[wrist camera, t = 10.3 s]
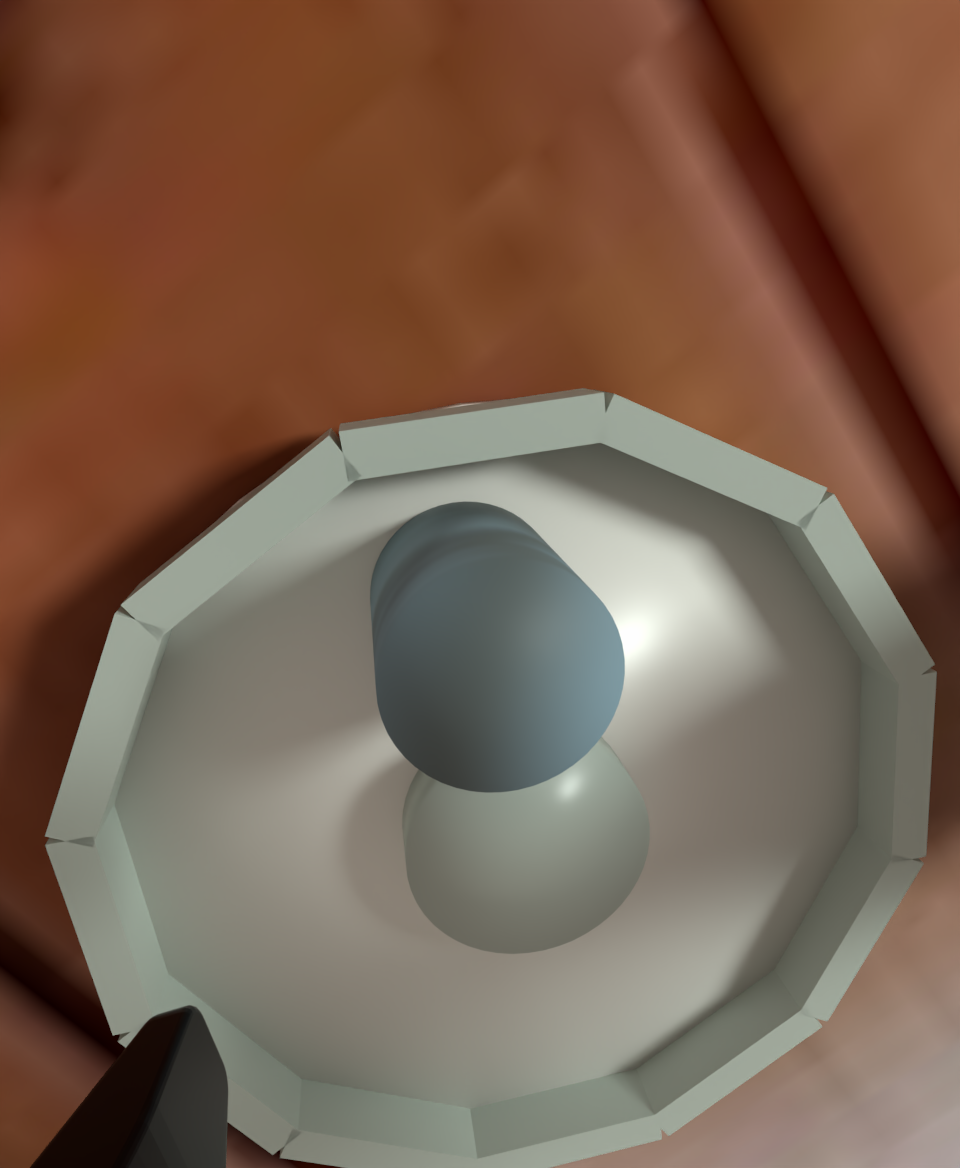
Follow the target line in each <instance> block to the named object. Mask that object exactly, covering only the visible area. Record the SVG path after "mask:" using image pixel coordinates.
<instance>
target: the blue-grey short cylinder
mask: <svg viewBox="0 0 960 1168" xmlns="http://www.w3.org/2000/svg"><path fill="white" fill-rule="evenodd" d="M370 605H371V621H372V637H373V653H374V669H375V685H376V695H377V704H378V708H379V712H380V716H381V719H382V722H383V724H384V726H385V729H386V731H387V733H388V735H389V737H390V738H391V740H392V741H393V743H394V745H395V746H396V747H397V749H398V750H399V751H400V752H401V753H402V755H403V756H404V757H405V758H406V759H407V760H408V761H409V762H410V763H411V764H413V765H414V766H415V767H416V768H417V769H419V770H420V771H422V772H423V773H425V774H426V775H427V776H429V777H431V778H433V779H435V780H437V781H439V782H441V783H444V784H446V785H449V786H452V787H455V788H459V789H463V790H468V791H474V792H485V793H493V792H508V791H515V790H520V789H524V788H527V787H531V786H534V785H537V784H540V783H542V782H545V781H547V780H549V779H551V778H553V777H555V776H557V775H559V774H561V773H562V772H564V771H565V770H567V769H568V768H570V767H571V766H573V765H574V764H575V763H577V762H578V761H579V760H580V759H581V758H582V757H584V756H585V755H586V754H587V753H588V752H589V751H590V750H591V749H592V748H593V746H594V745H595V744H596V743H597V742H598V741H599V739H600V738H601V736H602V735H603V734H604V732H605V731H606V729H607V728H608V726H609V724H610V722H611V720H612V719H613V717H614V714H615V712H616V709H617V707H618V704H619V701H620V698H621V694H622V690H623V684H624V676H625V658H624V651H623V644H622V641H621V637H620V634H619V631H618V628H617V626H616V624H615V622H614V620H613V617H612V616H611V614H610V612H609V611H608V609H607V608H606V606H605V605H604V603H603V602H602V601H601V600H600V599H599V598H598V597H597V595H596V594H595V593H594V592H593V591H592V590H591V589H590V588H589V587H588V586H587V585H586V584H585V583H584V582H583V580H582V579H581V578H580V577H579V576H578V575H577V574H576V573H575V572H574V571H573V570H572V569H571V568H570V567H569V566H568V565H567V564H566V563H565V562H564V561H563V560H562V559H561V557H560V556H559V555H558V554H557V553H556V552H555V551H554V550H553V549H552V548H551V547H550V546H549V545H548V544H547V543H546V542H545V541H544V540H543V539H542V538H541V537H540V535H539V534H538V533H537V532H536V531H535V530H534V529H533V528H532V527H531V526H530V525H528V524H527V523H526V522H525V521H524V520H523V519H521V518H520V517H518V516H516V515H515V514H513V513H512V512H509V511H507V510H505V509H503V508H501V507H497V506H494V505H491V504H486V503H481V502H466V501H464V502H453V503H448V504H444V505H439V506H437V507H434V508H431V509H428V510H426V511H424V512H422V513H420V514H418V515H417V516H415V517H414V518H412V519H411V520H409V521H408V522H406V523H405V524H404V525H403V526H402V527H401V528H400V529H399V530H397V531H396V532H395V534H394V535H393V536H392V537H391V538H390V540H389V541H388V542H387V544H386V545H385V547H384V548H383V550H382V551H381V553H380V556H379V558H378V560H377V562H376V565H375V568H374V571H373V574H372V580H371V586H370Z"/></svg>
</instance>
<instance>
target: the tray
mask: <svg viewBox="0 0 960 1168" xmlns="http://www.w3.org/2000/svg"><path fill="white" fill-rule="evenodd" d="M339 435H340V438H339V437H338V436H337V435H336V434H335V432H334V431H333V430H332V429H331V428H330V429H329V430H328V431H326V432H325V433H324V434H323V435H321V436H320V437H319V438H318V439H317V440H315V441H314V442H313V443H312V444H310V445H309V446H308V447H307V448H305V449H304V450H303V451H302V452H301V453H299V454H298V455H297V456H296V457H294V458H293V459H292V460H291V461H289V462H288V463H287V464H286V465H285V466H283V467H282V468H281V469H280V470H278V471H277V472H276V473H275V474H274V475H272V476H271V477H270V478H269V479H267V480H266V481H265V482H263V483H262V484H260V485H259V486H258V487H256V488H255V489H253V490H252V491H251V492H249V493H248V494H246V495H245V496H243V497H242V498H241V499H239V500H238V501H237V502H236V503H235V504H234V505H233V506H232V507H231V508H230V509H229V510H227V511H226V512H225V513H224V514H223V515H222V516H221V517H220V518H219V519H218V520H217V521H216V522H214V523H213V524H212V525H211V526H210V527H208V528H207V529H206V530H205V531H203V532H202V533H201V534H200V535H198V536H197V537H196V538H195V539H194V540H192V541H191V542H190V543H189V544H187V545H186V546H185V547H184V548H183V549H181V550H180V551H179V552H178V553H176V554H175V555H174V556H173V557H171V558H170V559H169V560H168V561H167V562H165V563H164V564H163V565H162V566H160V567H159V568H158V569H157V570H155V571H154V572H153V573H152V574H151V575H149V576H148V577H147V578H146V579H144V580H143V581H142V582H141V583H140V584H139V585H138V586H137V587H136V588H135V589H134V590H133V591H132V593H131V594H130V595H129V596H128V597H127V598H126V599H125V600H124V602H123V603H122V604H121V607H120V608H119V609H118V610H117V611H116V613H115V614H114V617H113V620H112V624H111V627H110V630H109V633H108V636H107V640H106V643H105V646H104V649H103V652H102V656H101V659H100V662H99V665H98V668H97V671H96V675H95V678H94V681H93V684H92V687H91V691H90V694H89V697H88V700H87V703H86V707H85V710H84V713H83V716H82V719H81V723H80V726H79V729H78V732H77V735H76V738H75V742H74V745H73V748H72V751H71V754H70V758H69V761H68V764H67V767H66V770H65V774H64V777H63V780H62V783H61V786H60V790H59V793H58V796H57V799H56V802H55V805H54V809H53V812H52V815H51V818H50V821H49V825H48V828H47V831H46V834H45V837H50V838H49V839H48V841H47V843H46V844H45V846H46V849H47V852H48V855H49V858H50V861H51V863H52V866H53V869H54V872H55V875H56V877H57V880H58V883H59V886H60V889H61V891H62V894H63V897H64V900H65V903H66V905H67V908H68V911H69V914H70V917H71V919H72V922H73V925H74V928H75V931H76V934H77V936H78V939H79V942H80V945H81V948H82V950H83V953H84V956H85V959H86V962H87V964H88V967H89V970H90V973H91V976H92V978H93V981H94V984H95V987H96V990H97V993H98V995H99V998H100V1001H101V1004H102V1007H103V1009H104V1012H105V1015H106V1018H107V1021H108V1023H109V1026H110V1029H111V1032H112V1035H118V1034H120V1037H119V1039H118V1042H119V1043H120V1044H121V1045H123V1046H124V1047H125V1048H126V1047H127V1046H128V1044H129V1043H130V1042H131V1041H132V1039H133V1038H134V1037H135V1036H136V1034H137V1033H138V1032H139V1031H140V1029H141V1028H142V1027H143V1026H144V1024H145V1023H146V1022H147V1021H148V1020H149V1019H150V1018H151V1017H153V1016H155V1015H157V1014H160V1013H163V1012H166V1011H170V1010H173V1009H177V1008H180V1007H184V1006H187V1005H192V1006H195V1007H197V1008H198V1009H199V1010H200V1012H201V1013H202V1015H203V1017H204V1019H205V1021H206V1024H207V1026H208V1028H209V1031H210V1033H211V1035H212V1038H213V1040H214V1042H215V1044H216V1047H217V1049H218V1051H219V1054H220V1056H221V1058H222V1060H223V1063H224V1066H225V1069H226V1073H227V1080H228V1119H227V1122H228V1123H230V1124H231V1125H232V1126H234V1127H235V1128H236V1129H238V1130H239V1131H241V1132H242V1133H243V1134H245V1135H246V1136H247V1137H249V1138H250V1139H252V1140H253V1141H254V1142H256V1143H257V1144H258V1145H260V1146H261V1147H263V1148H264V1149H265V1150H267V1151H268V1152H269V1153H271V1154H272V1155H273V1154H274V1153H276V1152H277V1151H279V1150H280V1149H281V1150H280V1158H285V1159H292V1160H298V1161H305V1162H312V1163H318V1164H325V1165H331V1166H338V1167H345V1168H550V1167H554V1166H558V1165H562V1164H566V1163H570V1162H574V1161H578V1160H582V1159H585V1158H589V1157H593V1156H597V1155H601V1154H605V1153H609V1152H613V1151H617V1150H621V1149H625V1148H629V1147H633V1146H637V1145H641V1144H645V1143H649V1142H653V1141H657V1140H661V1139H662V1135H661V1129H662V1130H663V1131H664V1132H665V1133H666V1134H667V1135H668V1136H670V1135H671V1134H672V1133H674V1132H675V1131H677V1130H678V1129H679V1128H681V1127H682V1126H684V1125H685V1124H686V1123H688V1122H689V1121H691V1120H692V1119H693V1118H695V1117H696V1116H698V1115H699V1114H701V1113H702V1112H703V1111H705V1110H706V1109H708V1108H709V1107H710V1106H712V1105H713V1104H715V1103H716V1102H717V1101H719V1100H720V1099H722V1098H723V1097H724V1096H726V1095H727V1094H729V1093H730V1092H731V1091H733V1090H734V1089H736V1088H737V1087H738V1086H740V1085H741V1084H743V1083H744V1082H745V1081H747V1080H748V1079H750V1078H751V1077H752V1076H754V1075H755V1074H757V1073H758V1072H759V1071H761V1070H762V1069H764V1068H765V1067H767V1066H768V1065H769V1064H771V1063H772V1062H774V1061H775V1060H776V1059H778V1058H779V1057H781V1056H782V1055H783V1054H785V1053H786V1052H788V1051H789V1050H790V1049H792V1048H793V1047H795V1046H796V1045H797V1044H799V1043H800V1042H802V1041H803V1040H804V1039H806V1038H807V1037H809V1036H810V1035H811V1034H813V1033H814V1032H816V1031H817V1030H818V1029H820V1028H821V1027H822V1026H821V1024H820V1023H819V1021H818V1020H817V1019H820V1020H824V1021H828V1020H829V1018H830V1016H831V1015H832V1013H833V1011H834V1010H835V1008H836V1007H837V1005H838V1003H839V1002H840V1000H841V998H842V997H843V995H844V993H845V992H846V990H847V989H848V987H849V985H850V984H851V982H852V980H853V979H854V977H855V975H856V974H857V972H858V970H859V969H860V967H861V966H862V964H863V962H864V961H865V959H866V957H867V956H868V954H869V952H870V951H871V949H872V948H873V946H874V944H875V943H876V941H877V939H878V938H879V936H880V934H881V933H882V931H883V930H884V928H885V926H886V925H887V923H888V921H889V920H890V918H891V916H892V915H893V913H894V911H895V910H896V908H897V907H898V905H899V903H900V902H901V900H902V898H903V897H904V895H905V893H906V892H907V890H908V889H909V887H910V885H911V884H912V882H913V880H914V879H915V877H916V875H917V874H918V872H919V870H920V869H921V867H922V866H923V864H924V863H923V862H922V861H921V860H920V859H919V858H921V857H925V856H926V851H927V834H928V816H929V799H930V782H931V764H932V747H933V729H934V712H935V695H936V677H937V672H936V671H934V670H933V669H931V667H932V666H934V665H935V663H934V662H933V660H932V658H931V657H930V655H929V653H928V652H927V650H926V648H925V646H924V645H923V643H922V641H921V640H920V638H919V636H918V635H917V633H916V631H915V630H914V628H913V626H912V625H911V623H910V621H909V620H908V618H907V616H906V614H905V613H904V611H903V609H902V608H901V606H900V604H899V603H898V601H897V599H896V598H895V596H894V594H893V593H892V591H891V589H890V588H889V586H888V584H887V582H886V581H885V579H884V577H883V576H882V574H881V572H880V571H879V569H878V567H877V566H876V564H875V562H874V561H873V559H872V557H871V556H870V554H869V552H868V550H867V549H866V547H865V545H864V544H863V542H862V540H861V539H860V537H859V535H858V534H857V532H856V530H855V529H854V527H853V525H852V524H851V522H850V520H849V518H848V517H847V515H846V513H845V512H844V510H843V508H842V507H841V505H840V503H839V502H838V500H837V498H836V497H835V495H834V494H833V493H830V492H826V490H827V488H826V487H824V486H822V485H819V484H817V483H815V482H813V481H810V480H808V479H806V478H804V477H801V476H799V475H797V474H794V473H792V472H790V471H788V470H785V469H783V468H781V467H779V466H776V465H774V464H772V463H770V462H767V461H765V460H763V459H761V458H758V457H756V456H754V455H752V454H749V453H747V452H745V451H743V450H740V449H738V448H736V447H733V446H731V445H729V444H727V443H724V442H722V441H720V440H718V439H715V438H713V437H711V436H709V435H706V434H704V433H702V432H700V431H697V430H695V429H693V428H691V427H688V426H686V425H684V424H681V423H679V422H677V421H675V420H672V419H670V418H668V417H666V416H663V415H661V414H659V413H657V412H654V411H652V410H650V409H648V408H645V407H643V406H641V405H639V404H636V403H634V402H632V401H630V400H627V399H625V398H623V397H620V396H618V395H616V394H613V393H608V392H603V391H598V390H590V389H585V388H582V389H575V390H568V391H562V392H555V393H548V394H541V395H534V396H527V397H520V398H514V399H505V400H492V401H479V402H466V403H457V404H452V405H448V406H443V407H439V408H434V409H429V410H425V411H420V412H415V413H411V414H404V415H397V416H390V417H384V418H377V419H370V420H363V421H356V422H349V423H343V424H340V427H339ZM464 501H466V502H481V503H486V504H491V505H494V506H497V507H501V508H503V509H505V510H507V511H509V512H512V513H513V514H515V515H516V516H518V517H520V518H521V519H523V520H524V521H525V522H526V523H527V524H528V525H530V526H531V527H532V528H533V529H534V530H535V531H536V532H537V533H538V534H539V535H540V537H541V538H542V539H543V540H544V541H545V542H546V543H547V544H548V545H549V546H550V547H551V548H552V549H553V550H554V551H555V552H556V553H557V554H558V555H559V556H560V557H561V559H562V560H563V561H564V562H565V563H566V564H567V565H568V566H569V567H570V568H571V569H572V570H573V571H574V572H575V573H576V574H577V575H578V576H579V577H580V578H581V579H582V580H583V582H584V583H585V584H586V585H587V586H588V587H589V588H590V589H591V590H592V591H593V592H594V593H595V594H596V595H597V597H598V598H599V599H600V600H601V601H602V602H603V603H604V605H605V606H606V608H607V609H608V611H609V612H610V614H611V616H612V617H613V620H614V622H615V624H616V626H617V628H618V631H619V634H620V637H621V641H622V644H623V651H624V658H625V676H624V684H623V690H622V694H621V698H620V701H619V704H618V707H617V709H616V712H615V714H614V717H613V719H612V720H611V722H610V724H609V726H608V728H607V729H606V731H605V732H604V734H603V735H602V736H601V738H600V739H599V741H598V742H597V743H596V744H595V745H594V746H593V748H592V749H591V750H590V751H589V752H588V753H587V754H586V755H585V756H584V757H582V758H581V759H580V760H579V761H578V762H577V763H575V764H574V765H573V766H571V767H570V768H568V769H567V770H565V771H564V772H562V773H561V774H559V775H557V776H555V777H553V778H551V779H549V780H547V781H545V782H542V783H540V784H537V785H534V786H531V787H527V788H524V789H520V790H515V791H508V792H493V793H485V792H474V791H468V790H463V789H459V788H455V787H452V786H449V785H446V784H444V783H441V782H439V781H437V780H435V779H433V778H431V777H429V776H427V775H426V774H425V773H423V772H422V771H420V770H419V769H417V768H416V767H415V766H414V765H413V764H411V763H410V762H409V761H408V760H407V759H406V758H405V757H404V756H403V755H402V753H401V752H400V751H399V750H398V749H397V747H396V746H395V745H394V743H393V741H392V740H391V738H390V737H389V735H388V733H387V731H386V729H385V726H384V724H383V722H382V719H381V716H380V712H379V708H378V704H377V695H376V685H375V669H374V653H373V637H372V621H371V605H370V586H371V580H372V574H373V571H374V568H375V565H376V562H377V560H378V558H379V556H380V553H381V551H382V550H383V548H384V547H385V545H386V544H387V542H388V541H389V540H390V538H391V537H392V536H393V535H394V534H395V532H396V531H397V530H399V529H400V528H401V527H402V526H403V525H404V524H405V523H406V522H408V521H409V520H411V519H412V518H414V517H415V516H417V515H418V514H420V513H422V512H424V511H426V510H428V509H431V508H434V507H437V506H439V505H444V504H448V503H453V502H464Z"/></svg>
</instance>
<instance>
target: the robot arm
mask: <svg viewBox="0 0 960 1168" xmlns="http://www.w3.org/2000/svg"><path fill="white" fill-rule="evenodd" d="M227 1119H228V1080H227V1073H226V1069H225V1066H224V1063H223V1060H222V1058H221V1056H220V1054H219V1051H218V1049H217V1047H216V1044H215V1042H214V1040H213V1038H212V1035H211V1033H210V1031H209V1028H208V1026H207V1024H206V1021H205V1019H204V1017H203V1015H202V1013H201V1012H200V1010H199V1009H198V1008H197V1007H195V1006H192V1005H187V1006H184V1007H180V1008H177V1009H173V1010H170V1011H166V1012H163V1013H160V1014H157V1015H155V1016H153V1017H151V1018H150V1019H149V1020H148V1021H147V1022H146V1023H145V1024H144V1026H143V1027H142V1028H141V1029H140V1031H139V1032H138V1033H137V1034H136V1036H135V1037H134V1038H133V1039H132V1041H131V1042H130V1043H129V1044H128V1046H127V1047H126V1048H125V1049H124V1051H123V1052H122V1053H121V1054H120V1056H119V1057H118V1058H117V1059H116V1061H115V1062H114V1063H113V1064H112V1066H111V1067H110V1068H109V1069H108V1071H107V1072H106V1073H105V1074H104V1076H103V1077H102V1078H101V1079H100V1081H99V1082H98V1083H97V1084H96V1086H95V1087H94V1088H93V1089H92V1091H91V1092H90V1093H89V1094H88V1096H87V1097H86V1098H85V1099H84V1101H83V1102H82V1103H81V1104H80V1106H79V1107H78V1108H77V1109H76V1111H75V1112H74V1113H73V1114H72V1116H71V1117H70V1118H69V1119H68V1121H67V1122H66V1123H65V1124H64V1126H63V1127H62V1128H61V1129H60V1131H59V1132H58V1133H57V1134H56V1136H55V1137H54V1138H53V1139H52V1141H51V1142H50V1143H49V1144H48V1146H47V1147H46V1148H45V1149H44V1151H43V1152H42V1153H41V1154H40V1156H39V1157H38V1158H37V1159H36V1161H35V1162H34V1163H33V1164H32V1166H31V1167H30V1168H226V1149H227Z"/></svg>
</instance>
